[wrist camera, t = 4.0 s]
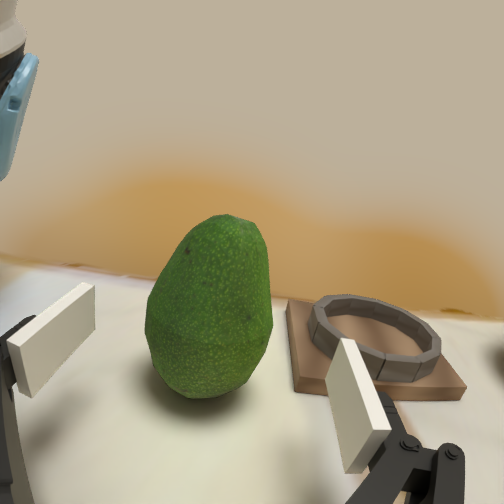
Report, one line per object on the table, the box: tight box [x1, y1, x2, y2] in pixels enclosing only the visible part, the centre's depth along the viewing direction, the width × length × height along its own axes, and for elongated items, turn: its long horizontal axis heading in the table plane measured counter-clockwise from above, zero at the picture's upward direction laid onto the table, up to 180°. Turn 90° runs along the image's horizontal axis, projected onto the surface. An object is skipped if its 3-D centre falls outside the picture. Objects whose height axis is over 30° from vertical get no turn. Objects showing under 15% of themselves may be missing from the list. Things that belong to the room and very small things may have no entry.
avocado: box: [145, 214, 273, 398], centre depth 20 cm, size 8×8×12 cm
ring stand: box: [286, 294, 467, 401], centre depth 29 cm, size 16×14×4 cm
